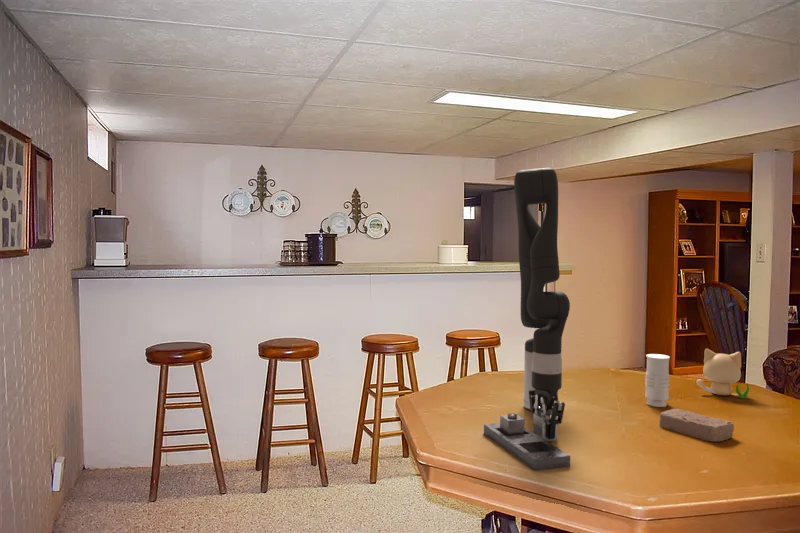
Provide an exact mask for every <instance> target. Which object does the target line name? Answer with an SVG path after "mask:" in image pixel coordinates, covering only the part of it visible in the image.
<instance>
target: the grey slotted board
mask: <svg viewBox="0 0 800 533" xmlns="http://www.w3.org/2000/svg"><path fill="white" fill-rule="evenodd" d="M483 434H484V435H485V436H487V437H489V438H490V439H491V440H492V441H494V443H497V444H498V445H500V447H502V448H503V449H504V450H506V451H508V453H510V454H512V455H513V456H514V457H516V458H517V459H518V460H520V461H521V462H523V463H524V464H525V465H526V466H528V467H530V468H531V469H532V470H534V471H540V470H548V469H549V470H550V469H557V468H565V467H571V455H570V454H568V453H566V452H565V451H564V450H562V449H561V448H559V447H557V446H555V445H554V444H552V443H551V442H550V441H548V442H547V441H546V440H544V439H543V438H541V437H539V436H538V435H536V434H534V433H533V431H531V430H529V429H528V428H526V427H525V430H524V435H516V436H505V435H504V434H502V433H501V432H500V422H495V423H484V424H483Z"/></svg>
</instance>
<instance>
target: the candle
mask: <svg viewBox="0 0 800 533" xmlns="http://www.w3.org/2000/svg"><path fill="white" fill-rule="evenodd" d="M645 357H646V371H645V377H644V378H645V381H644V382H645V384H644V386H645V394H644V398H646V399H647V400H646V405H649V406H651V407H656V408H657V407H658V408H659V407H660V408H665V407H667V406H668V405H667V402H666V401H668V400H669V399H670V398H669V389H670V376H671V375H670V374H669V370H670V366H669V364H670V359H671V356H669V355H666V354H659V353H648V354H645Z"/></svg>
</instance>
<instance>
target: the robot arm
mask: <svg viewBox="0 0 800 533" xmlns="http://www.w3.org/2000/svg"><path fill="white" fill-rule="evenodd" d="M513 180H514V182H513V190H514V198H515V207H516V208H515V209H516V217H517V227H518V229H517V231H518V233H517V234H518V262H519V263H518V264H519V265H518V266H519V273H520V274H519V275H520V277H519V278H520V321H521V324H522V326H523V327H525V328H530V329H535V330H534V331H533V336H532V337H533V338H530V339H527V340H526V341H525V343H524V368H523V369H524V371H523V374H524V375H523V376H524V378H523V407H524V408H525V409H527V410H530V413H531V414H532V415H533V414H535V413H541V412H543V413H544V415H545V416H546V422H547V424H546V438H547V439H554V438H555V429H556V424H558V425H559V424H562V420H563V416H564V411H565V406H566V403H565V402H564V401H560V400H559V391H560V390H561V388H562V387H563V386H562V384H563V383H562V380H563V378H562V376H563V357H562V337H563V334H564V330H565V326H566V323H567V320H568V317H569V313H570V308H571V303H570V299H569V297H568V295H567V294H566V293H565V292H563V291H544V287H545V286H546V284H551V283H554V282H556V281H558V280H559V278H560V276H561V275H560V262H559V250H558V233H559V232H558V228H559V183H558V182H559V180H558V176H557V172H556V170H555V169H554V168H553V167H542V168H530V169H521V170H517V171H516V173H515V175H514V179H513ZM541 204H545V205H546V208H545V215H544V219H543V221H542V223H541V225H540V224H539V223H538V222H537V221H536V219H535V217H533V214H532V213H531V210H530V208H529V205H541ZM550 415H551V420H550ZM557 417H558V419H557Z"/></svg>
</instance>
